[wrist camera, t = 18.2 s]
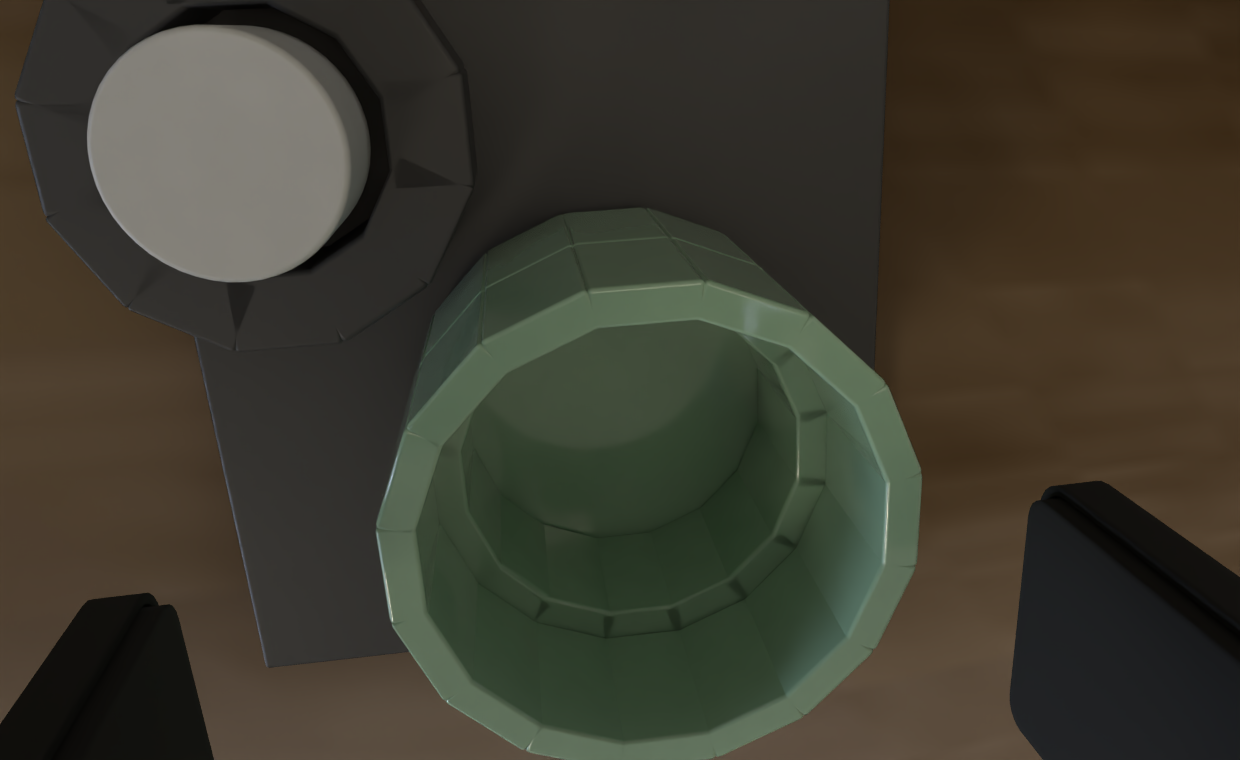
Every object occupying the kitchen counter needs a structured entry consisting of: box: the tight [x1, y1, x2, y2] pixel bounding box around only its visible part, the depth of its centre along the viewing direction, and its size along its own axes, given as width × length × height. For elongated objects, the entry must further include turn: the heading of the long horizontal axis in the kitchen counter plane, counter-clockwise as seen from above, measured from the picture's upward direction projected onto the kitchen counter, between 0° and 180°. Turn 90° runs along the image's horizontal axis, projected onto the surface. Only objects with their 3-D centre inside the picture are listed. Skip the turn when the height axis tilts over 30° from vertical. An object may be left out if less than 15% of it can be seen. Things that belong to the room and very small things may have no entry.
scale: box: [15, 0, 890, 668], centre depth 16 cm, size 13×13×3 cm
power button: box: [87, 24, 371, 282], centre depth 13 cm, size 3×3×2 cm
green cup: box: [375, 207, 922, 760], centre depth 15 cm, size 7×7×6 cm
